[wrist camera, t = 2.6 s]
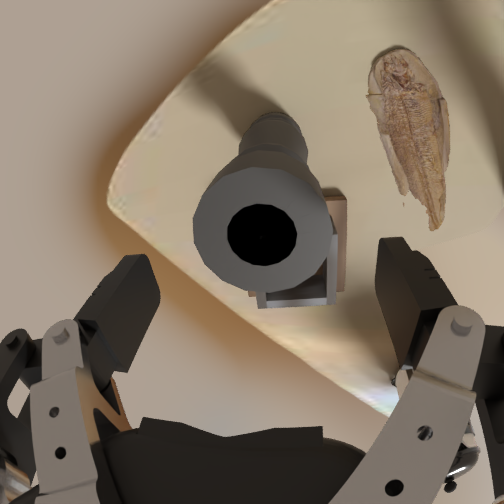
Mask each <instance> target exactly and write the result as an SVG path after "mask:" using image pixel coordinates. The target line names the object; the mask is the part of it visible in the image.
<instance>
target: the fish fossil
mask: <svg viewBox="0 0 504 504" xmlns="http://www.w3.org/2000/svg"><path fill="white" fill-rule="evenodd" d="M368 87H369V89H368V93H369V95H366V98H367V99H368V101H369V103H370V109H371V110H372V112H374V114H375V116H376V118H377V122H378V123H377V125H378V131H379V133H380V139H381V142H382V144H383V148H384V149H385V151H386V153H387V159H388V160H389V164H390V166H391V168H392V173H393V175H394V177H395V181H396V184H397V186H398V189H399V192H400V194H401V195H404V196H406V194H407V192H409V191H408V190H410V191H411V192H412V194H413V196H414V197H415V199H419V201H420V202H421V204H422V205H425V206H426V207H427V210H426V213H428V215H429V228H430V230H431V231H434V230H435V229H438V228H439V227H440V225H441V224H442V222H443V220H444V214H445V203H446V200H445V198H446V185H445V177H444V172H445V171H446V169H447V167H448V161H449V153H450V128H449V127H450V125H449V119H448V116H449V114H448V109H447V102H446V100H445V99H444V98H443V97H442V94H441V91H440V89H439V87H438V83H437V81H436V80H435V78H434V77H433V76H432V75H431V73H430V72H429V71H428V69H427V68H426V67H425V66H424V64H423V63H422V62H421V60H420V59H419V58H418V57H417V56H416V55H415V53H414V52H411V51H409V50H407V49H397V50H392V51H390V52H388V53H386V54H385V55H383V56H381V57H379V58H378V59H377V60H376V62H375V63H374V65H373V66H372V68H371V71H370V74H369V81H368ZM403 205H404V203H403Z"/></svg>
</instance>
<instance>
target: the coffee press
mask: <svg viewBox="0 0 504 504" xmlns="http://www.w3.org/2000/svg"><path fill="white" fill-rule="evenodd" d="M413 372H414V370H413V369H407V370H401V369H400V370H399V371H398V373H397V375H396V378H395V379H393V380H392V382H391V383H392V385H394V386H396V387H397V391H398V395H399V399H400V398H401V396H402V394H403V392H404V390H405V388H406V386H407V384H408V382H409V380H410V378H411V376H412V374H413ZM395 383H396V385H395ZM474 436H475V433H474V430H473V427H472V425H471V422H470V419H469V422H468V425H467V428H466V430H465V433H464V436H463V438H462V441H461V444H460V446H459V449H458V451H457V453H456V456H455V458H454V460H453V463H452V465H451V467H450V469H449V471H448V473H447V476H446V478H445V480H444V482H443V484H444V483H447V484H446V485H445V487H444V490H445V491H446V492H447V493H450V492H453V491H454V490H455V489H456V486H457V484H456V483H455V482H454V481H453V480H454V479H456V478H458V477H460V476H462V475H463V474H465V473H466V472H468V471H469V470H471V469H472V468H473V467H474V466H475V464H476V463H477V461H478V456H479V453H480V448H479V447H478V446H477V445H476V441H475V438H474Z"/></svg>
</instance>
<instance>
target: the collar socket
mask: <svg viewBox="0 0 504 504" xmlns="http://www.w3.org/2000/svg"><path fill="white" fill-rule="evenodd" d="M324 199H325V201H326V204H327V208H328V211H329V215H330V219H331V223H332V227H333V235H332V240H331V245H330V250H329V255H328V256H327V258H326V259H325V260H324V262H323V263H322V265H321V266H320V267H319V269H318V270H317V272H316V273H315V274H314V275H313V276H311V277H310V278H308V279H306V280H305V281H303V282H302V283H300V284H299V285H297V286H295V287H293V288H289V289H285V290H280V291H276V292H271V293H267V292H256V291H248V295H249V297H255V296H256V299H257V305H258V309H261V308H283V307H301V306H317V305H332V304H336V292H340V291H344V287H345V268H346V241H347V199H346V197H345V196H330V197H324Z"/></svg>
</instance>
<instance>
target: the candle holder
mask: <svg viewBox="0 0 504 504" xmlns="http://www.w3.org/2000/svg"><path fill="white" fill-rule="evenodd" d="M307 157H308V149H307V146H306V143H305V139H304V137H303V136H302V133H301V130H300V128H299V126H298V124H297V123H296V122H295V121H294V120H293V119H292V118H291V117H289V116H287V115H285V114H283V113H275V112H271V113H268V114H265V115H262V116H261V117H259V118H258V119H257V120H256V121H255V122H254V123H253V124H252V125H251V127H250V129H249V130H248V131H247V132H245V134H244V136H243V138H242V140H241V142H240V144H239V155H238V156H237V157H235V158H234V159H233V160H232V161H231V162H230V163H229V164H227V165H226V166H225V167H224V168H223V169H222V170H221V171H220V172H219V173H218V174H217V175H216V177H215V178H214V179H213V181H212V182H211V184H210V185H209V186H208V188H207V189H206V191H205V192H204V194H203V195H202V197H201V200H200V202H199V204H198V207H197V209H196V212H195V214H194V217H193V234H194V244H195V246H196V248H197V250H198V252H199V254H200V256H201V258H202V260H203V262H204V264H205V265H206V266H207V267H208V268H209V269H210V270H212V271H213V272H214V273H215V274H216V275H217V276H218V277H219V278H220V279H221V280H222V281H225V282H227V283H229V284H232V285H234V286H236V287H238V288H241V289H243V290H246V291H256V292H267V293H271V292H276V291H280V290H285V289H289V288H293V287H295V286H297V285H299V284H300V283H302V282H303V281H305V280H306V279H308V278H310V277H311V276H313V275H314V274H315V273H316V272H317V270H318V269H319V267H320V266H321V265H322V263H323V262H324V260H325V259H326V258H327V256H328V255H329V250H330V245H331V240H332V235H333V227H332V223H331V219H330V215H329V211H328V208H327V204H326V201H325V199H324V196H323V193H322V190H321V187H320V185H319V182H318V180H317V179H316V178H315V176H314V175H313V174H312V173H311V172H310V170H309V167H308V165H307Z"/></svg>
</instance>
